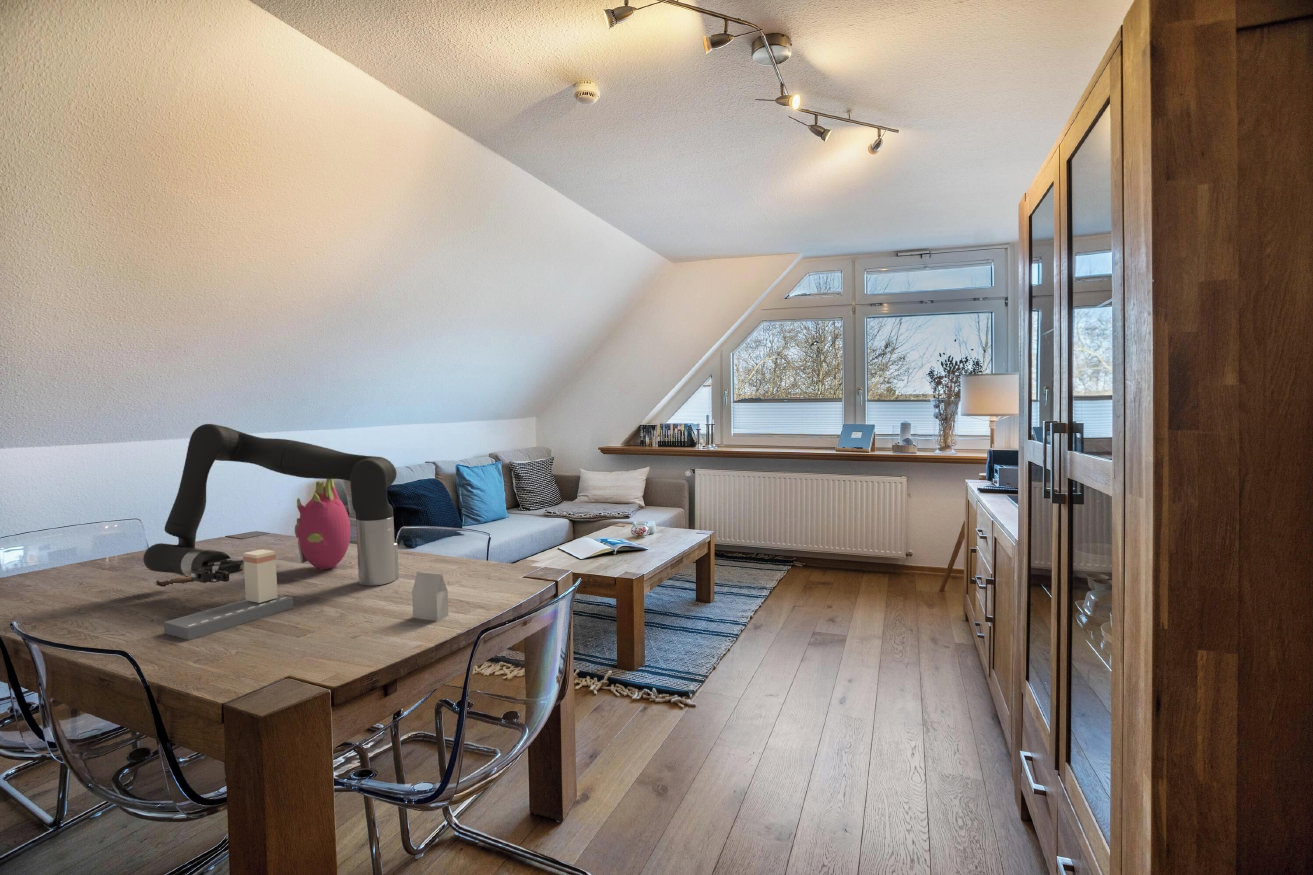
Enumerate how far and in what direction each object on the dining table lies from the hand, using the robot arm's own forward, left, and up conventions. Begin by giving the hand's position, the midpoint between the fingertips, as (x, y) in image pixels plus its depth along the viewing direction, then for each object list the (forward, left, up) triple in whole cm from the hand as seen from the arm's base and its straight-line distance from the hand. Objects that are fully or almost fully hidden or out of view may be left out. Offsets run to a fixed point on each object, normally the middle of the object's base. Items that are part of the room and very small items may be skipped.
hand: (246, 572), depth 160 cm
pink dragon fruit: (-32, -16, -9) cm, 37 cm away
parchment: (-14, -41, -9) cm, 44 cm away
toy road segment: (+7, +5, -8) cm, 12 cm away
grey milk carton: (-14, +44, -9) cm, 47 cm away
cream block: (0, +5, -6) cm, 8 cm away
